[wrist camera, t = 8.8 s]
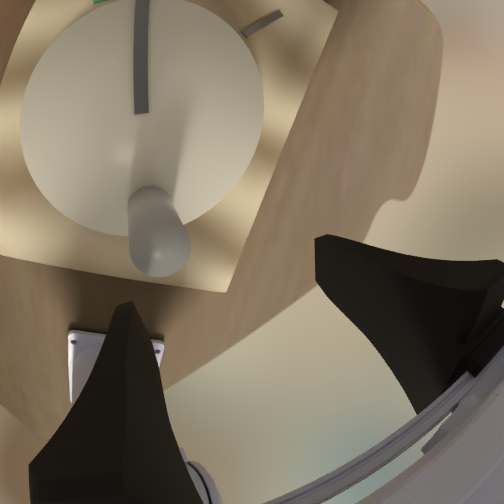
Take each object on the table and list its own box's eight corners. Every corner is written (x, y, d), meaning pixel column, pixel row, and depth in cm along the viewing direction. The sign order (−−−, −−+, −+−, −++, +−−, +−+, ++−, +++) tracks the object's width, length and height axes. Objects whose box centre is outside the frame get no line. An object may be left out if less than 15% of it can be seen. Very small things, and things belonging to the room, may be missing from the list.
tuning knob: (37, -36, 6) (10, -84, 1) (256, -49, 11) (311, -92, 6) (48, 246, 15) (23, 309, 10) (254, 210, 19) (306, 253, 14)
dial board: (219, 281, 23) (226, 294, 22) (-14, 240, 14) (-23, 251, 13) (326, 15, 16) (340, 10, 15) (92, -71, 7) (91, -83, 6)
